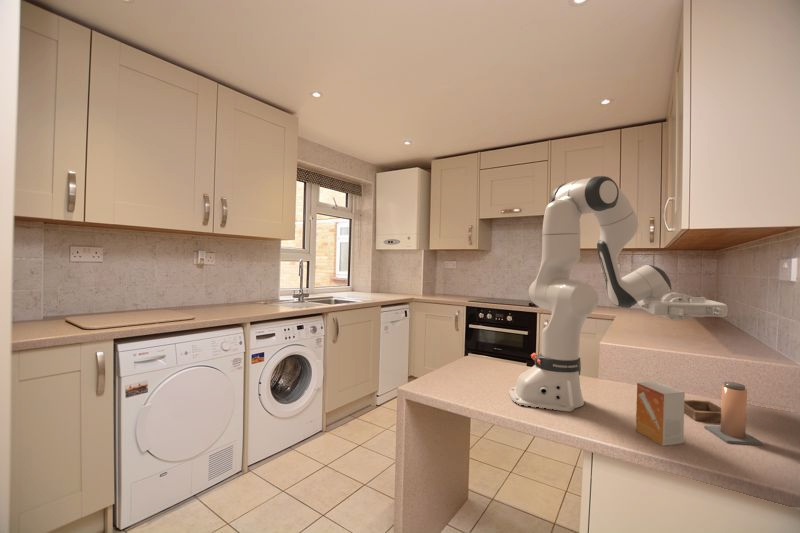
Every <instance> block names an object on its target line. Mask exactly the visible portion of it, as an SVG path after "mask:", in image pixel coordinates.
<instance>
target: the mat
mask: <svg viewBox="0 0 800 533" xmlns="http://www.w3.org/2000/svg"><path fill="white" fill-rule="evenodd" d="M720 426H721V425H720ZM720 426H718V425H704V429H705V430H707V431H708V432H710V433H711V434H713V435H715V436H716V437H717V438H719V439H720V440H722V441H723V442H724V443H726V444H738V445H752V446H753V445H755V446H757V445H758V446H763V445H764V442H763V441H761V440H759V439H757V438H756V437H755V436H752V435H751V434H749V433H748V432H746V437H745V438H734V437H730V436H727V435H725V434H723V433H722V432H721V431H720Z"/></svg>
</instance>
